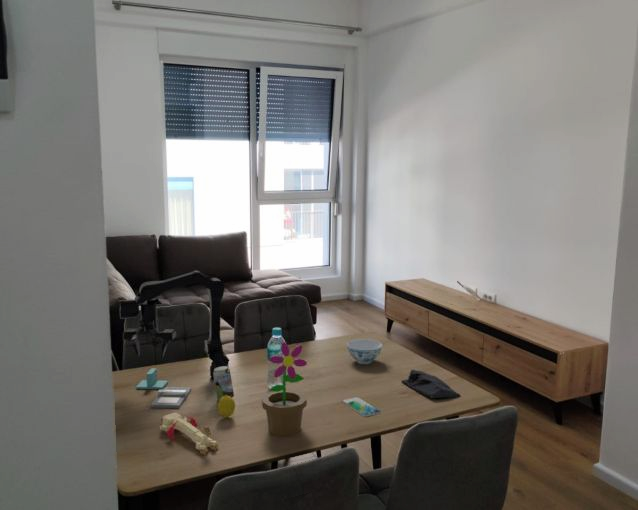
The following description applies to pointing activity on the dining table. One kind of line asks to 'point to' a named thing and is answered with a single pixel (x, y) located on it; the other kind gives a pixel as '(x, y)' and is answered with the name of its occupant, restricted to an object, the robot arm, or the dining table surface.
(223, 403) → the lemon
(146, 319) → the robot arm
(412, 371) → the dark grey cloth
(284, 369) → the flowerpot
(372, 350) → the chinaware
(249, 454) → the dining table surface
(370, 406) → the smartphone
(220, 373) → the beverage can
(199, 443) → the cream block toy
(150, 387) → the stub
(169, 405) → the plate
